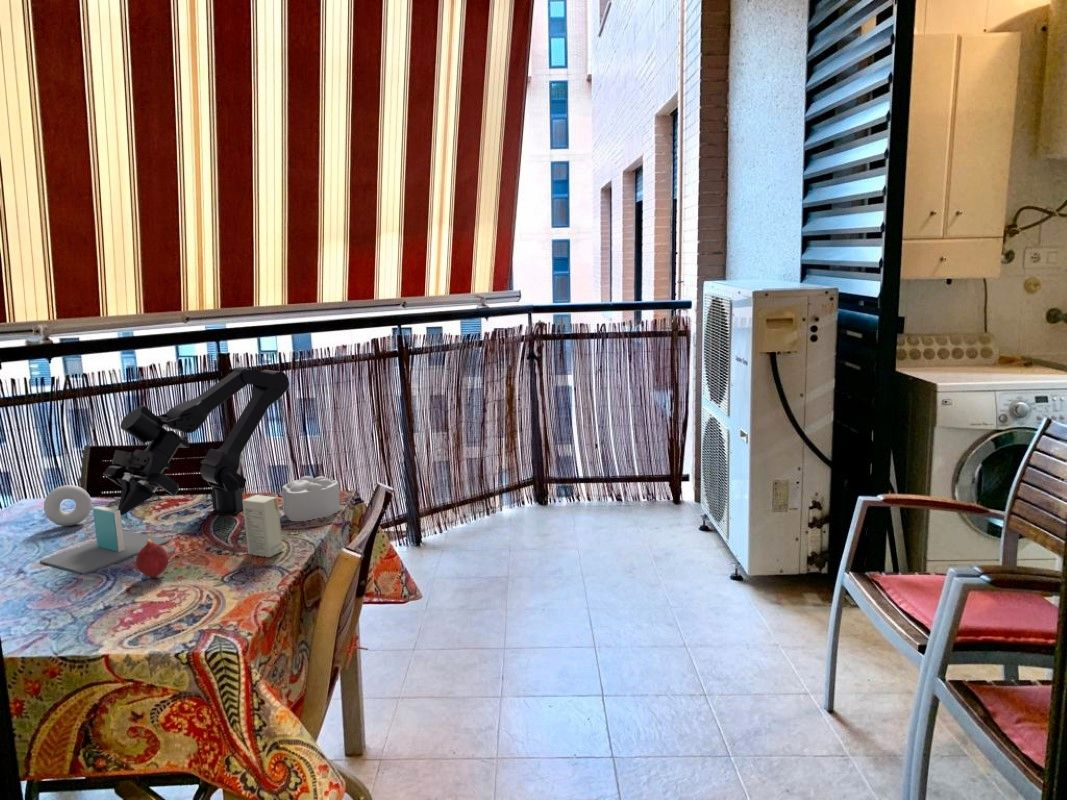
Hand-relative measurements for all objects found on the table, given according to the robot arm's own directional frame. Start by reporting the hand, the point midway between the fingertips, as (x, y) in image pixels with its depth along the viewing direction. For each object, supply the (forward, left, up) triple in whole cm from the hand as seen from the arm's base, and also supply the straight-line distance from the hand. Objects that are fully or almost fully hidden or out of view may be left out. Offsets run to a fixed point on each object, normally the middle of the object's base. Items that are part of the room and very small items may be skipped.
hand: (119, 514), depth 175 cm
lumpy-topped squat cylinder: (-32, -27, -8) cm, 43 cm away
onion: (-19, +15, -7) cm, 25 cm away
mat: (+1, +4, -7) cm, 8 cm away
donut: (+22, -9, -7) cm, 25 cm away
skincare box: (-34, -1, -7) cm, 35 cm away
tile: (+1, +3, -2) cm, 4 cm away
